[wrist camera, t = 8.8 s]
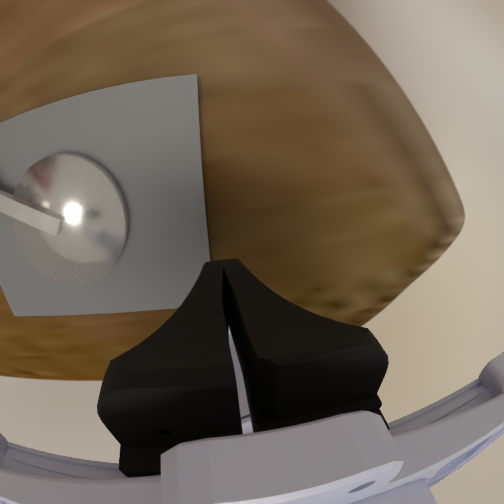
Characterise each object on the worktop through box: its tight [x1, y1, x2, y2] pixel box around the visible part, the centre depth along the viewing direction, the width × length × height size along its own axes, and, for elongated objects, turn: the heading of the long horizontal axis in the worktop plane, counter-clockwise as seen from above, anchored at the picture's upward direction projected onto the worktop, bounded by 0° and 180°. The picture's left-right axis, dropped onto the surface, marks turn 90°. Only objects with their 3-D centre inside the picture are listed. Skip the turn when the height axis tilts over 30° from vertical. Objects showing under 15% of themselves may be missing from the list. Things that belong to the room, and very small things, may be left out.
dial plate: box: [0, 74, 210, 316], centre depth 17 cm, size 16×19×1 cm
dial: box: [0, 152, 129, 285], centre depth 14 cm, size 13×9×5 cm
